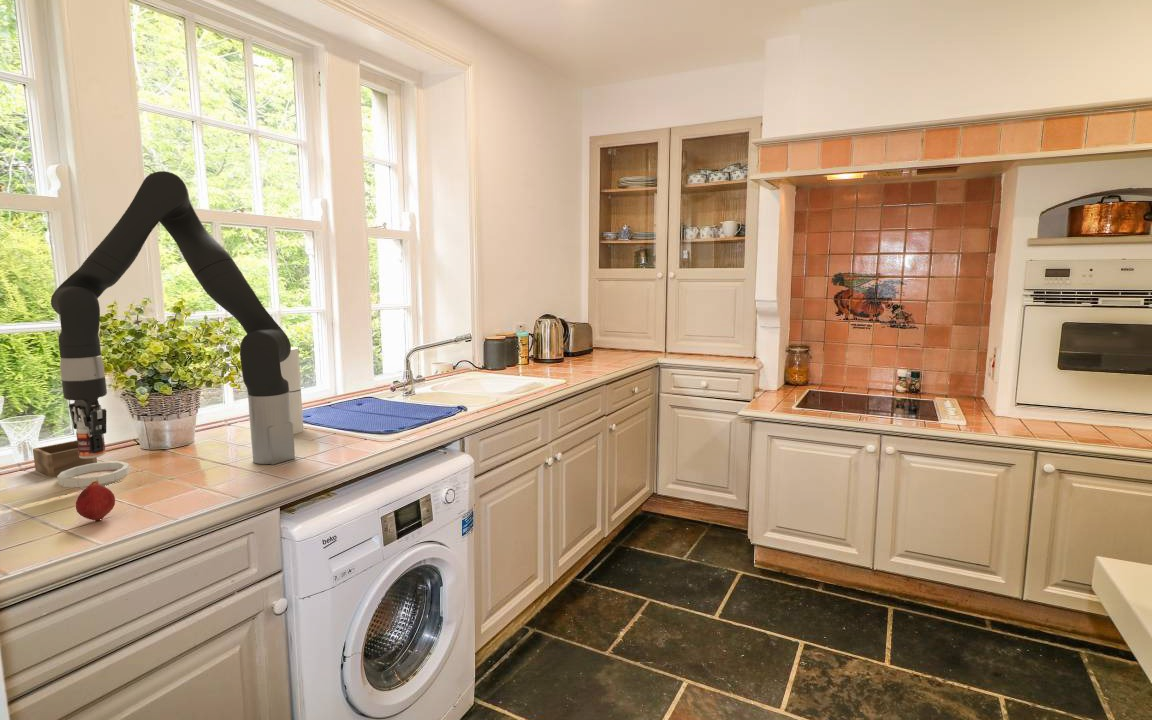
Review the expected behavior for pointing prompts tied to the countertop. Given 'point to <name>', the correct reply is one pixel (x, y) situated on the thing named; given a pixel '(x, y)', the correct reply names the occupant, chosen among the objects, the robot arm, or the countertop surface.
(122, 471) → the white ring
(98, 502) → the onion
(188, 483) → the countertop surface
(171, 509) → the countertop surface
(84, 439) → the pill bottle
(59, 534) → the countertop surface
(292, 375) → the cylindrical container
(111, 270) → the robot arm
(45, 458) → the walnut crate
